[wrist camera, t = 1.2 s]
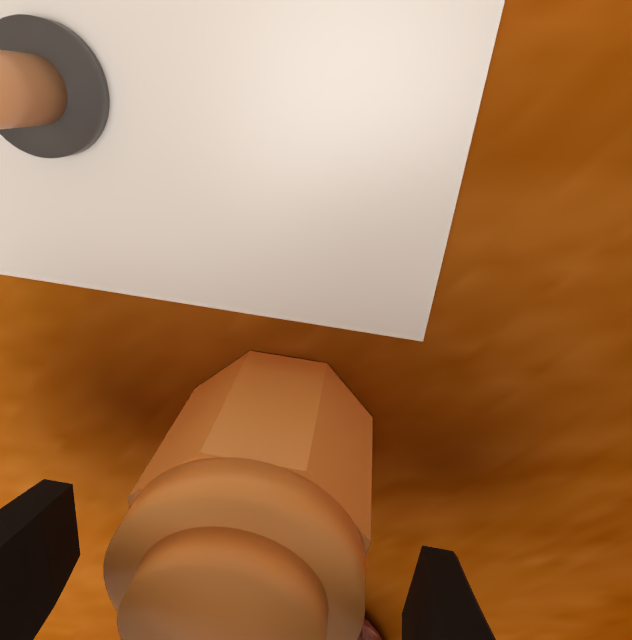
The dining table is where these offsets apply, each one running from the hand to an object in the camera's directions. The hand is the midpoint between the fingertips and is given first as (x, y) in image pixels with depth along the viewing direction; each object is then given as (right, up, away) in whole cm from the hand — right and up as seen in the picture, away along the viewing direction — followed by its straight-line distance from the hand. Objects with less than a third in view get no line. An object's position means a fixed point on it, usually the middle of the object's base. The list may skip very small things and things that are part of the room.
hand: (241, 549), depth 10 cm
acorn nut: (+1, +2, +3) cm, 4 cm away
